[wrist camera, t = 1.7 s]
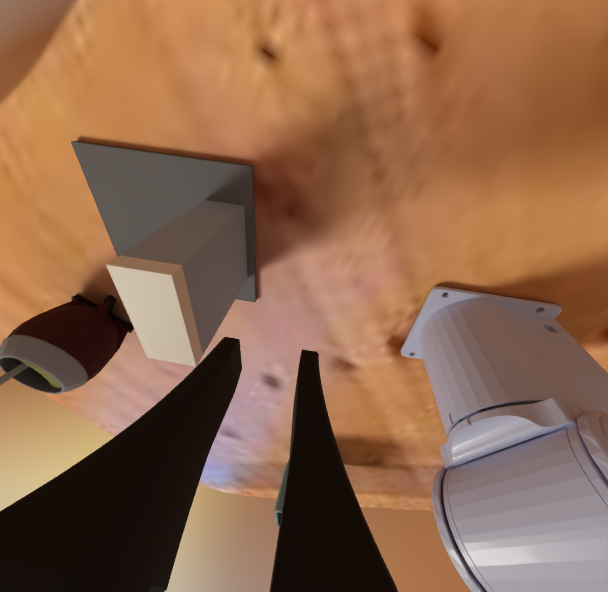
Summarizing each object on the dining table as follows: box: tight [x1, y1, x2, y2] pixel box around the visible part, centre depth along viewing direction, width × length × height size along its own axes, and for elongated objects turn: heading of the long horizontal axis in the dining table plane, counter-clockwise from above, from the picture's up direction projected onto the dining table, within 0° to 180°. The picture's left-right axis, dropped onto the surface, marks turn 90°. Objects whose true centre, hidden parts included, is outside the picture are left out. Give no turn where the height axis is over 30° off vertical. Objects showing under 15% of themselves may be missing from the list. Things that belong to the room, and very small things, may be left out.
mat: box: [71, 141, 256, 302], centre depth 19 cm, size 12×11×1 cm
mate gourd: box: [0, 294, 134, 394], centre depth 21 cm, size 8×8×15 cm
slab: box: [106, 200, 248, 366], centre depth 16 cm, size 3×6×9 cm, turn 175°
